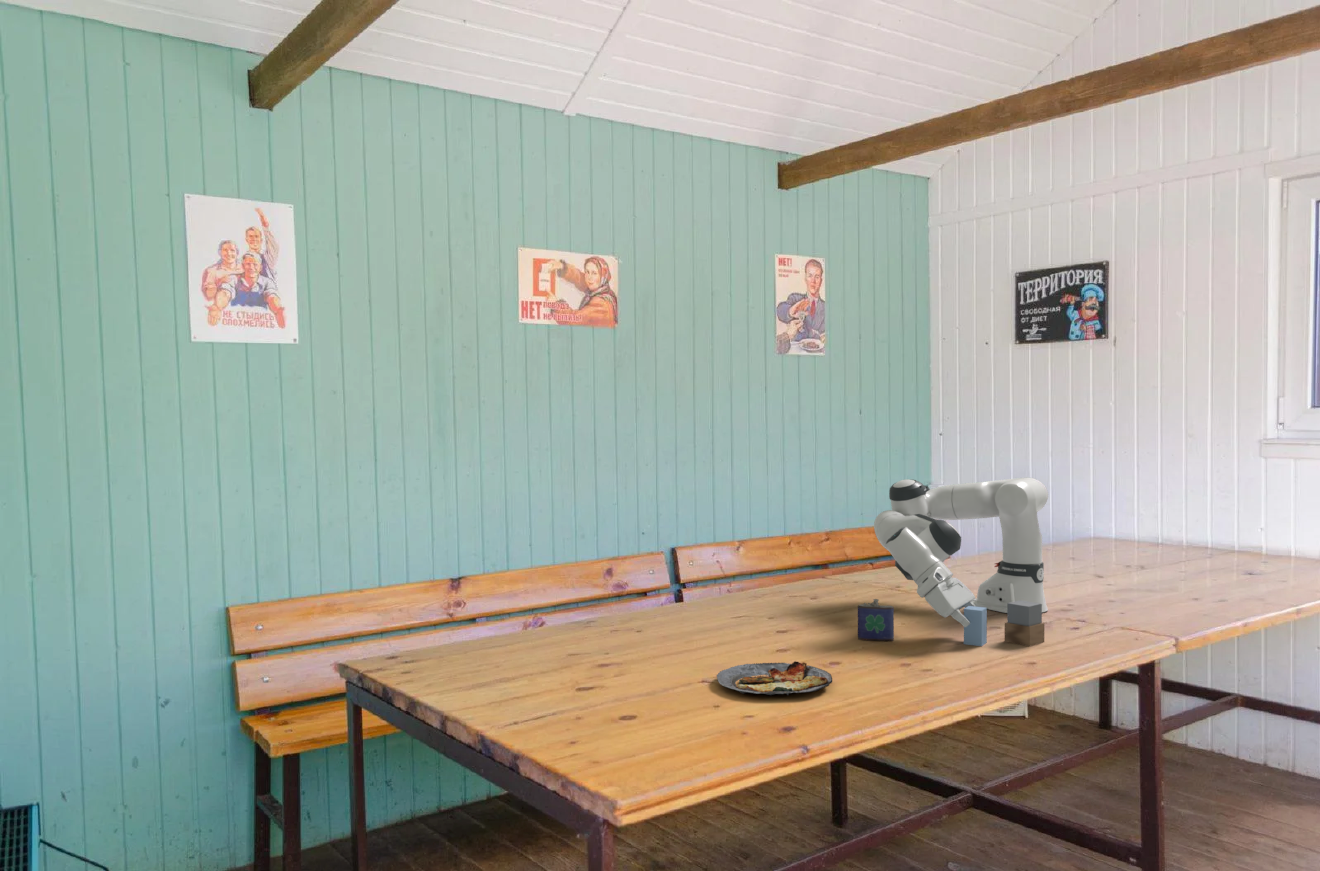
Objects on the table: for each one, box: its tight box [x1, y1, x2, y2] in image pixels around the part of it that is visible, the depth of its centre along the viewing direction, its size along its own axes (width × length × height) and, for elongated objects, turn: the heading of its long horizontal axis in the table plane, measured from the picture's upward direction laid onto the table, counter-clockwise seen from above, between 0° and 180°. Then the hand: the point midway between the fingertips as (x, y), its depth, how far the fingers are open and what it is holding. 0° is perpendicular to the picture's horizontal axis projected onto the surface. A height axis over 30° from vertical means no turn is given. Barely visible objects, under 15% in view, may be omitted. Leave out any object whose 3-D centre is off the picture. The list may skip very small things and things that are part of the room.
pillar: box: [963, 606, 988, 647], centre depth 247 cm, size 4×4×9 cm
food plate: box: [716, 660, 833, 696], centre depth 211 cm, size 25×23×4 cm
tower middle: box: [1006, 600, 1043, 626], centre depth 249 cm, size 6×6×5 cm
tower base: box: [1004, 621, 1045, 647], centre depth 249 cm, size 7×7×5 cm
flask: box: [857, 598, 895, 642], centre depth 252 cm, size 9×3×11 cm, turn 74°
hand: (973, 621), depth 247 cm, fingers open, 8 cm apart
